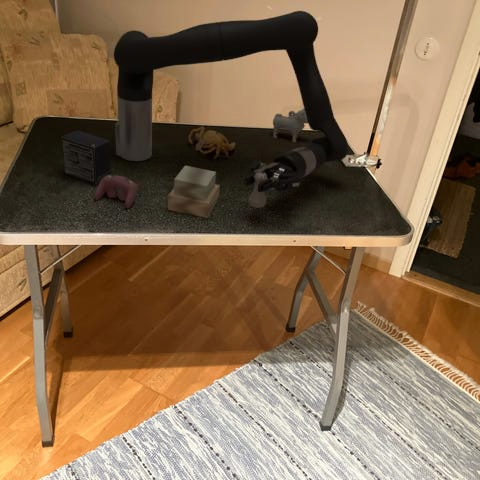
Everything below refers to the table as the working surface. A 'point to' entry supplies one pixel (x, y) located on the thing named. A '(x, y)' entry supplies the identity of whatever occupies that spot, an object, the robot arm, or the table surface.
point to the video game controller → (110, 186)
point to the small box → (86, 156)
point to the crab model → (210, 141)
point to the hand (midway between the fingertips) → (252, 184)
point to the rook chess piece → (256, 197)
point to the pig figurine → (290, 123)
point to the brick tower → (194, 192)
